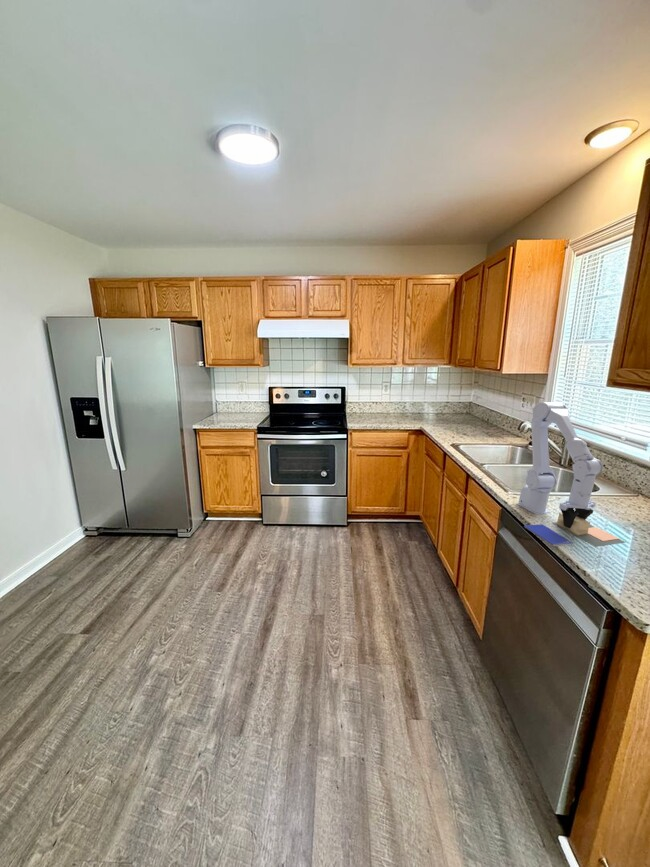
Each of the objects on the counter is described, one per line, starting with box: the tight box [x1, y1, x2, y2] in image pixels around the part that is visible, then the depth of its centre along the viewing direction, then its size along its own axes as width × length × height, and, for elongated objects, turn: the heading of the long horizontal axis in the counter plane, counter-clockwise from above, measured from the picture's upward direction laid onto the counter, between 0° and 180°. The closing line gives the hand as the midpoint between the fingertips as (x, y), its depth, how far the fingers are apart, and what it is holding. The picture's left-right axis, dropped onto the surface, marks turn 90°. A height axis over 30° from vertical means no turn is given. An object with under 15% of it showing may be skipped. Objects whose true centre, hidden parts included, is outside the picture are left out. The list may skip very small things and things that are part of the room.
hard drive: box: [523, 524, 575, 547], centre depth 115 cm, size 2×8×12 cm
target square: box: [587, 526, 620, 541], centre depth 117 cm, size 8×8×1 cm
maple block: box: [556, 512, 591, 535], centre depth 120 cm, size 8×4×4 cm, turn 15°
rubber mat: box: [552, 521, 626, 547], centre depth 118 cm, size 16×14×1 cm
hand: (572, 526), depth 120 cm, fingers closed on maple block, 4 cm apart
